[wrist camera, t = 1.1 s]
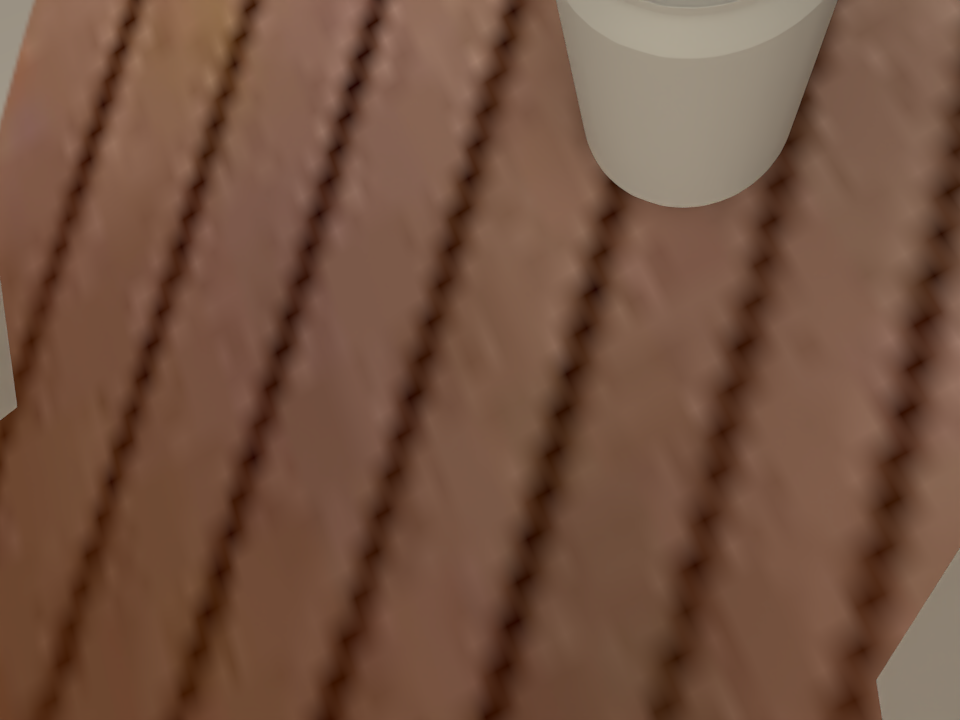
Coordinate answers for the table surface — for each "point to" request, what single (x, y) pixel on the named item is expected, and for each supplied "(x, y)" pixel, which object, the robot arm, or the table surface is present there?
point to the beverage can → (690, 89)
